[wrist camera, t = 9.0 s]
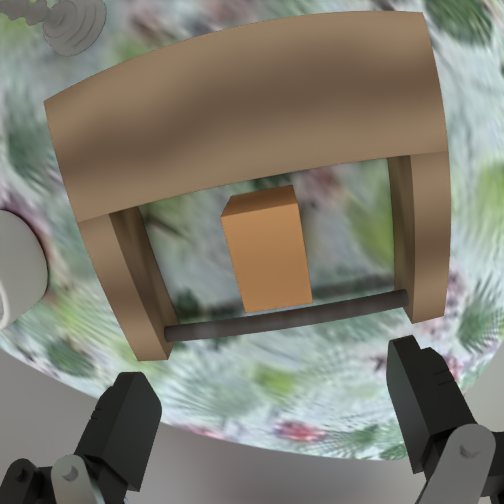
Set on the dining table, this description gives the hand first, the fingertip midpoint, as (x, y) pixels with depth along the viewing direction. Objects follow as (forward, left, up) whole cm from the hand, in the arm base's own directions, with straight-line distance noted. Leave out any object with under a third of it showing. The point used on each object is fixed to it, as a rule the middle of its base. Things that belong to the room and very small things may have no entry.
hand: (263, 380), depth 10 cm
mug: (-3, -24, -13) cm, 28 cm away
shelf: (-3, 0, -13) cm, 13 cm away
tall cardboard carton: (0, 0, -13) cm, 13 cm away
